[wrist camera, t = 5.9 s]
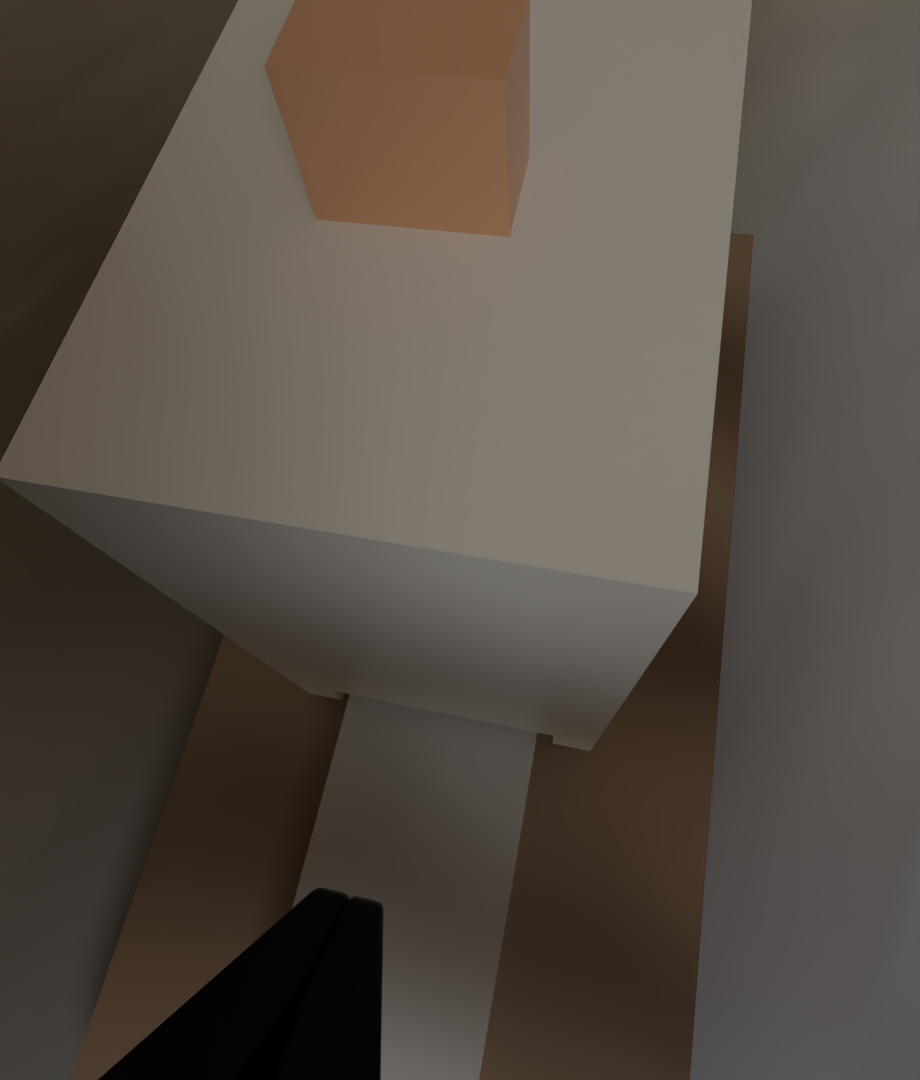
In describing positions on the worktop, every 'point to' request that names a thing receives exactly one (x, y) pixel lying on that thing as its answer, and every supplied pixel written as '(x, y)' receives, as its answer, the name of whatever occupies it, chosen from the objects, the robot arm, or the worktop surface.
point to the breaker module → (418, 348)
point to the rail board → (458, 847)
